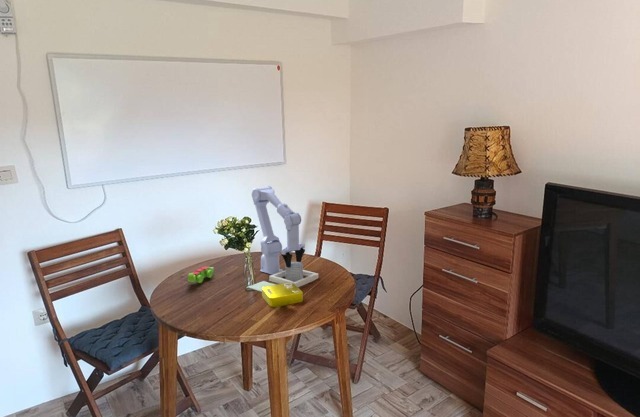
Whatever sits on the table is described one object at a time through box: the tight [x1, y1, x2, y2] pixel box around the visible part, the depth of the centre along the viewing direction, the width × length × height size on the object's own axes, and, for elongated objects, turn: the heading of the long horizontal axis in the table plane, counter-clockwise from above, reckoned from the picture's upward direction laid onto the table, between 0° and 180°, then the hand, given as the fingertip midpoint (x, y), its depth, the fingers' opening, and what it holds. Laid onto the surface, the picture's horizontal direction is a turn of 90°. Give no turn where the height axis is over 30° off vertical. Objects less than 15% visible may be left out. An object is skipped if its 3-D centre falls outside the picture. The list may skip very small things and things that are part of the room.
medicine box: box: [284, 261, 304, 282], centre depth 211 cm, size 8×4×9 cm, turn 77°
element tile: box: [261, 283, 304, 308], centre depth 189 cm, size 15×15×5 cm
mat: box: [247, 280, 276, 293], centre depth 203 cm, size 10×10×1 cm
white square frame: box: [268, 269, 319, 288], centre depth 212 cm, size 17×17×2 cm
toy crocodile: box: [187, 266, 215, 284], centre depth 214 cm, size 20×7×6 cm, turn 160°
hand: (293, 265), depth 210 cm, fingers open, 7 cm apart
